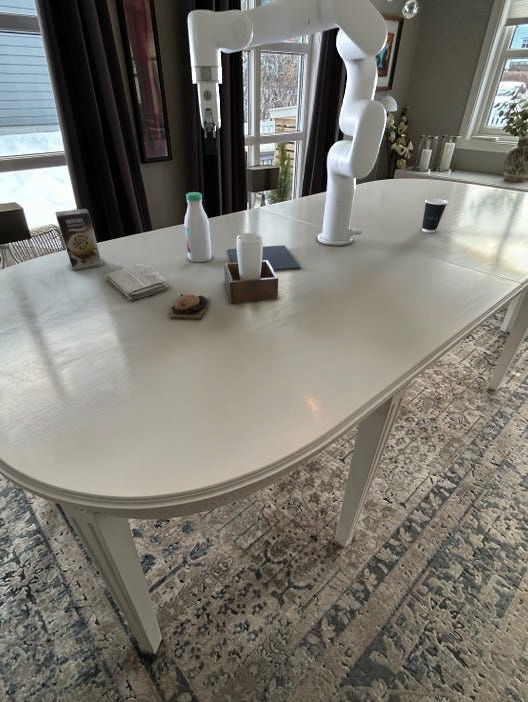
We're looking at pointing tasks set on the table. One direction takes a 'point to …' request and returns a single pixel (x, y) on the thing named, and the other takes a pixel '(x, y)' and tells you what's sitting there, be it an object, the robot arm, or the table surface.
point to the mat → (273, 257)
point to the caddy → (251, 284)
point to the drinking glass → (249, 255)
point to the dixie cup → (433, 214)
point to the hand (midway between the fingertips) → (211, 152)
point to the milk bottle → (197, 229)
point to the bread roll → (189, 306)
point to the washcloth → (137, 281)
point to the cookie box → (79, 238)
